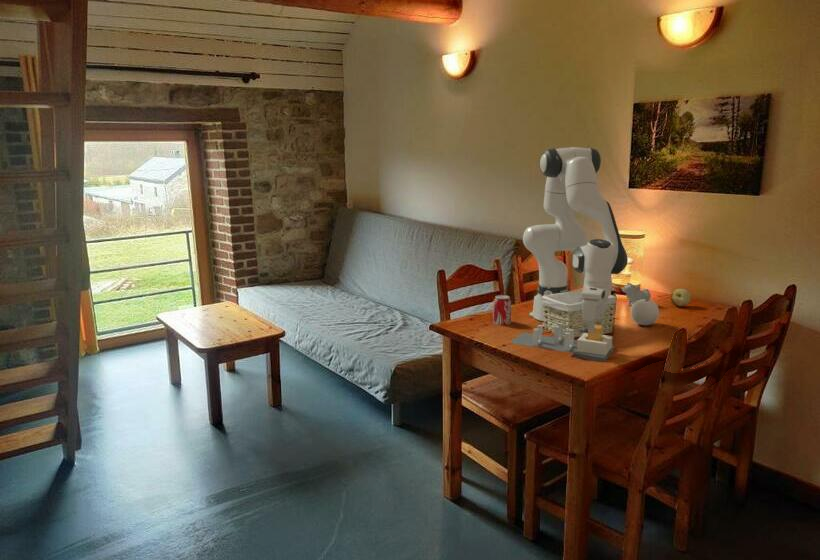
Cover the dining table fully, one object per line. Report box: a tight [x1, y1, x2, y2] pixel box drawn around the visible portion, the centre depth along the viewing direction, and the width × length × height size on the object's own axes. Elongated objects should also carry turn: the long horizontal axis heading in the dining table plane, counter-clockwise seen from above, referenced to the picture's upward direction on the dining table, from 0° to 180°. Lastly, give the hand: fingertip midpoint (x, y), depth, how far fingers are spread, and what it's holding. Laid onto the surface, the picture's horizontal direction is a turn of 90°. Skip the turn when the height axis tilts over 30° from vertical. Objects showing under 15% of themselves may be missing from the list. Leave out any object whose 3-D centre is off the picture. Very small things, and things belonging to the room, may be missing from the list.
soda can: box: [492, 294, 512, 326], centre depth 238 cm, size 7×7×12 cm
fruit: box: [670, 288, 692, 308], centre depth 263 cm, size 8×8×8 cm
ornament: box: [630, 296, 660, 327], centre depth 236 cm, size 10×10×12 cm
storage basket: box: [542, 289, 617, 339], centre depth 227 cm, size 24×16×15 cm
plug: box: [579, 325, 604, 341], centre depth 206 cm, size 4×7×8 cm, turn 60°
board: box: [509, 323, 615, 363], centre depth 211 cm, size 14×33×8 cm, turn 60°
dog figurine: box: [621, 282, 652, 309], centre depth 264 cm, size 5×13×11 cm, turn 95°
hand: (595, 328), depth 204 cm, fingers open, 8 cm apart
